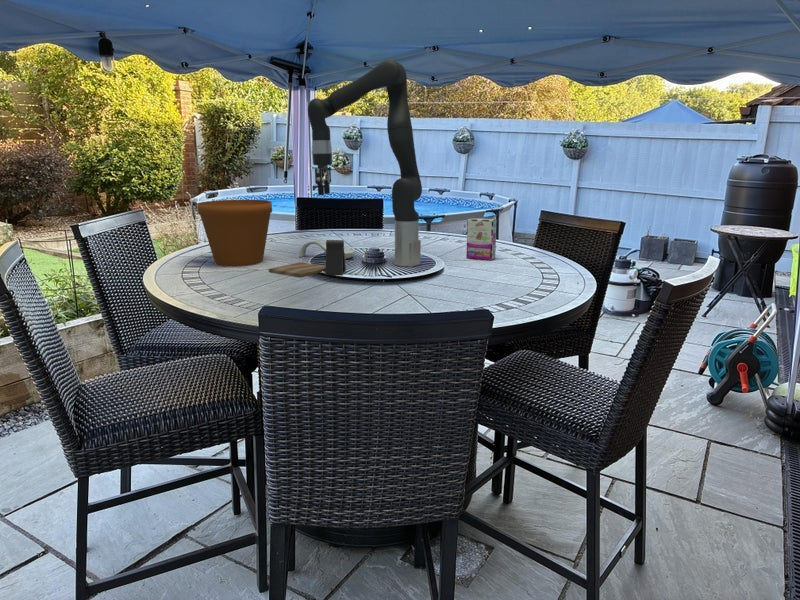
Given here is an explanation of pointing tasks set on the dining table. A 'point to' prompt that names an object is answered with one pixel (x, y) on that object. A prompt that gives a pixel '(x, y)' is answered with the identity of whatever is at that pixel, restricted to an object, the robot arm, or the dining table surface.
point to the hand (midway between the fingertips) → (324, 194)
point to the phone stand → (335, 257)
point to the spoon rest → (302, 253)
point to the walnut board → (298, 269)
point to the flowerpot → (236, 230)
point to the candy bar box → (481, 239)
